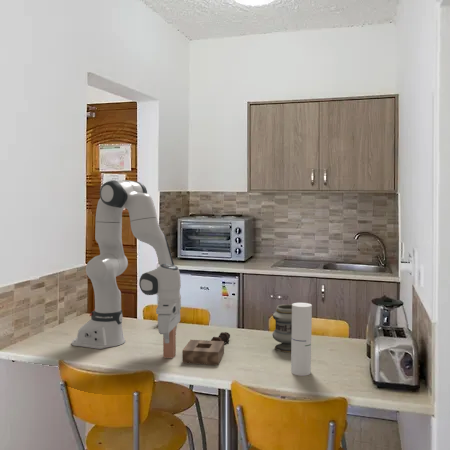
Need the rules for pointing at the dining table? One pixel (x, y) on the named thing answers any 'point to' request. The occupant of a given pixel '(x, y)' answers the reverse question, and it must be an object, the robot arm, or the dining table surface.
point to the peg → (170, 345)
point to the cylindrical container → (301, 339)
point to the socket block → (203, 352)
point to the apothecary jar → (283, 327)
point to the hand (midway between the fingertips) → (170, 339)
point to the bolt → (222, 337)
